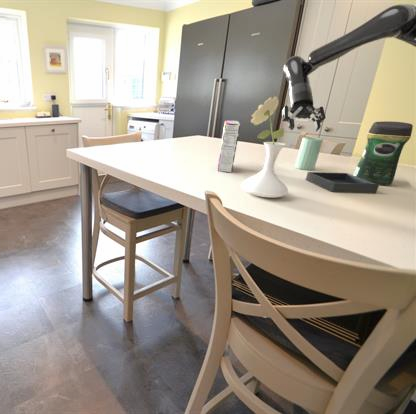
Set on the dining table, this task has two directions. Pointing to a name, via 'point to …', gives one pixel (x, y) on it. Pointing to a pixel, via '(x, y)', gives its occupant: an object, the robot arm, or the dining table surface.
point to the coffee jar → (383, 151)
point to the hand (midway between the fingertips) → (304, 129)
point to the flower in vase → (267, 157)
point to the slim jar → (308, 153)
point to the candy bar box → (228, 146)
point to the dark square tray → (341, 182)
